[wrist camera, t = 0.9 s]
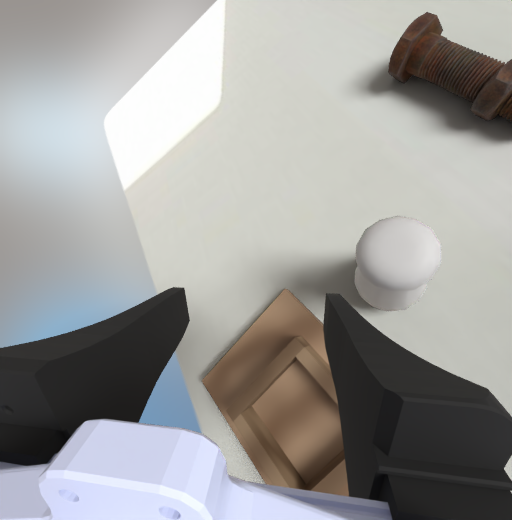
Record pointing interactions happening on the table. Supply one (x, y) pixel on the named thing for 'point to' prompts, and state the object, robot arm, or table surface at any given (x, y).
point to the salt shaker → (396, 262)
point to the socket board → (284, 399)
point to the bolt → (453, 68)
